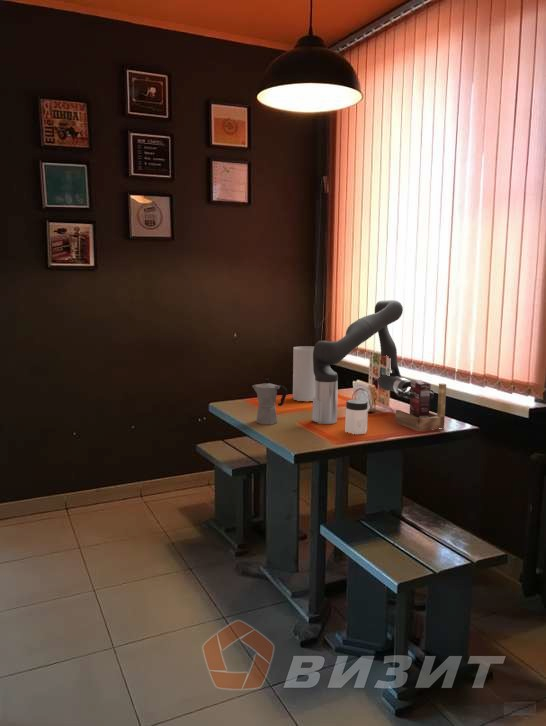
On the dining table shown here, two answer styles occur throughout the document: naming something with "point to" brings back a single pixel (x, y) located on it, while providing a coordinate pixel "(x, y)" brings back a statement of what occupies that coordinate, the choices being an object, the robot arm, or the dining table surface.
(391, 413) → the dining table surface
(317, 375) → the robot arm
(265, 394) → the coffeepot
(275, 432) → the dining table surface
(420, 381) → the supplement box
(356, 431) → the jar
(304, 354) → the cylinder vase
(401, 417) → the bracket
